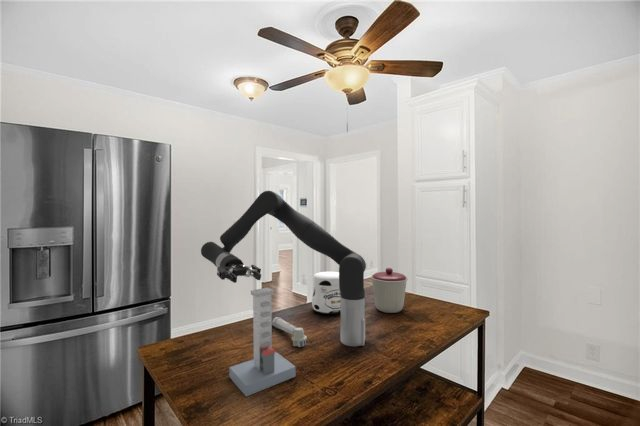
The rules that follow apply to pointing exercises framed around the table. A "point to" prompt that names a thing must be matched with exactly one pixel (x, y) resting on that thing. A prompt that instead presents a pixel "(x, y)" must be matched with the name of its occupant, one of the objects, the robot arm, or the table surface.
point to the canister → (389, 290)
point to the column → (261, 324)
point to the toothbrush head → (291, 331)
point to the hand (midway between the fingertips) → (248, 278)
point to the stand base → (262, 373)
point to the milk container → (326, 293)
